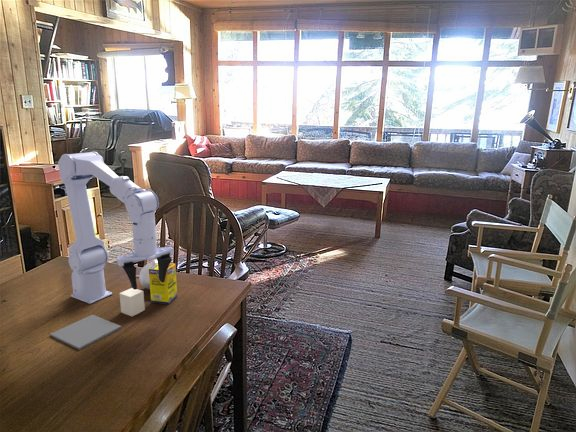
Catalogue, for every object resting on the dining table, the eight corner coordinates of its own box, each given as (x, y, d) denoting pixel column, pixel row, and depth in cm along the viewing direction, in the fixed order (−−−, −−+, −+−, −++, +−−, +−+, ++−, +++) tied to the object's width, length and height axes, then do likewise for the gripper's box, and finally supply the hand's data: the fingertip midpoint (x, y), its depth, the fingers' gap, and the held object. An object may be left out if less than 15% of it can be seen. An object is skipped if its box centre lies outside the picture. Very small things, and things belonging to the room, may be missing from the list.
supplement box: (169, 305, 124) (166, 270, 121) (150, 302, 125) (147, 268, 122) (178, 296, 129) (176, 263, 126) (160, 294, 130) (157, 261, 128)
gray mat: (50, 336, 106) (50, 333, 106) (92, 316, 116) (92, 314, 116) (79, 350, 101) (79, 347, 100) (121, 328, 111) (121, 326, 110)
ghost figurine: (169, 294, 131) (167, 264, 128) (138, 295, 129) (135, 265, 127) (172, 282, 139) (170, 254, 137) (143, 283, 138) (140, 255, 135)
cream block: (121, 312, 119) (119, 293, 117) (134, 306, 123) (132, 287, 121) (132, 316, 117) (130, 297, 115) (144, 310, 120) (143, 291, 119)
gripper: (121, 246, 103) (126, 296, 106) (177, 235, 111) (179, 282, 115) (112, 239, 108) (117, 287, 111) (166, 229, 117) (169, 274, 120)
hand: (148, 284), depth 113 cm, fingers open, 7 cm apart
